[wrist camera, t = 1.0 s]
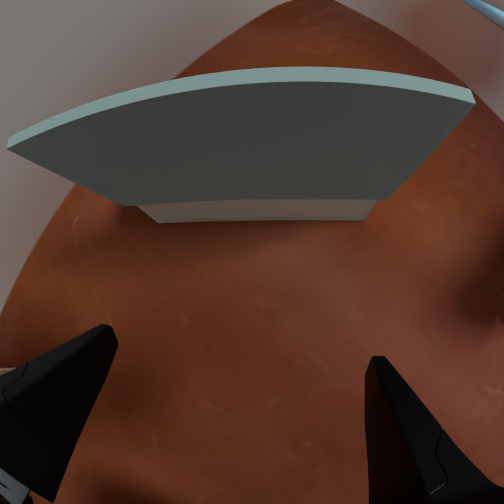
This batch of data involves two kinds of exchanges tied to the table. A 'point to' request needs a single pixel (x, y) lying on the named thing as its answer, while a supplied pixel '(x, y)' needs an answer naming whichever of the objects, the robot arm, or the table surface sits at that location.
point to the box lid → (251, 136)
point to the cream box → (260, 210)
